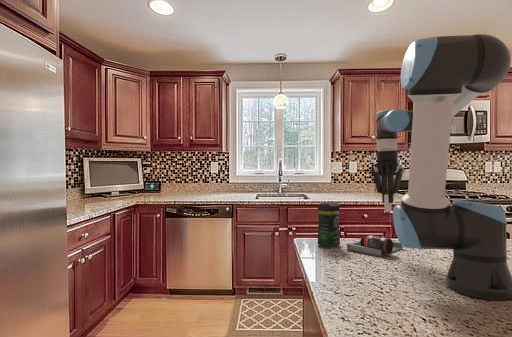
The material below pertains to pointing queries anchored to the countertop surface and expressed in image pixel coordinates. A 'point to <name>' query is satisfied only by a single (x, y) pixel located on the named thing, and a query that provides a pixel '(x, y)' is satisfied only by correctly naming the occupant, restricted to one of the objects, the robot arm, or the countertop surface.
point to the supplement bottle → (377, 243)
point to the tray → (372, 249)
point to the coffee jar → (328, 224)
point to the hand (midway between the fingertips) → (388, 211)
